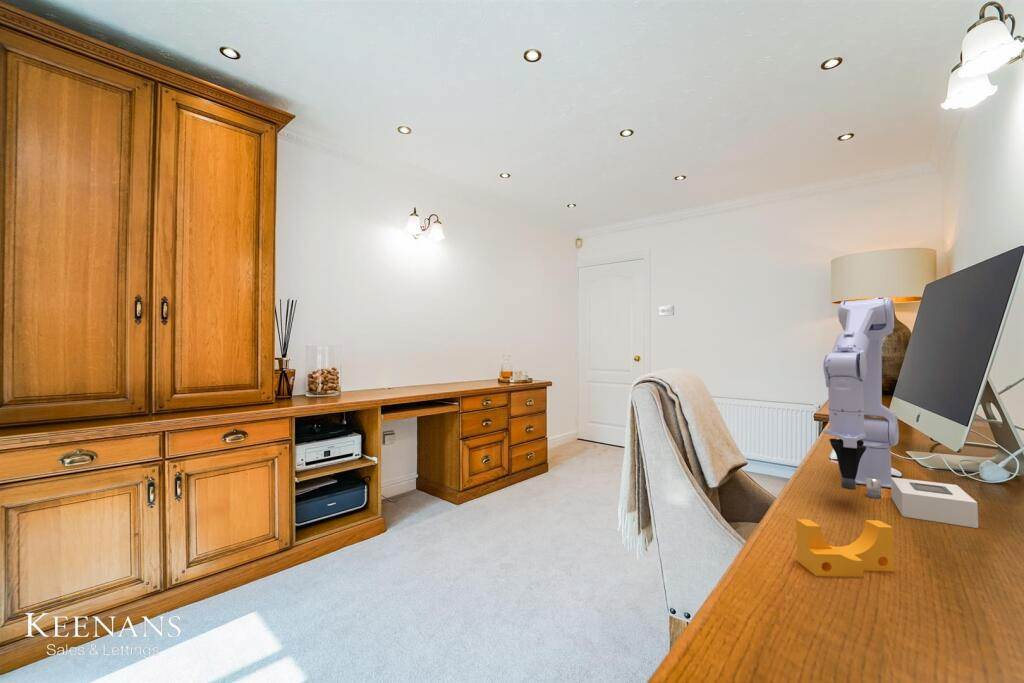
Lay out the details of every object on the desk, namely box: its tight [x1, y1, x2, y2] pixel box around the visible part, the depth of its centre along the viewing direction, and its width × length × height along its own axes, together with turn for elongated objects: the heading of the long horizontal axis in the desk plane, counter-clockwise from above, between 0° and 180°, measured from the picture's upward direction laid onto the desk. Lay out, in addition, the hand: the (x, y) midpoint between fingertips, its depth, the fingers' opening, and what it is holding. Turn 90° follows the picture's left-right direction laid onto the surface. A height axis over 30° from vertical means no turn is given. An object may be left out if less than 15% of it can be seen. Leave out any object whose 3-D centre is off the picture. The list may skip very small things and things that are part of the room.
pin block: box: [890, 476, 979, 529], centre depth 83 cm, size 12×10×5 cm
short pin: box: [866, 477, 882, 500], centre depth 92 cm, size 2×2×4 cm
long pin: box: [840, 474, 857, 491], centre depth 88 cm, size 2×2×6 cm
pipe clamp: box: [795, 518, 895, 578], centre depth 62 cm, size 12×4×6 cm, turn 87°
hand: (847, 476), depth 88 cm, fingers closed on long pin, 2 cm apart
